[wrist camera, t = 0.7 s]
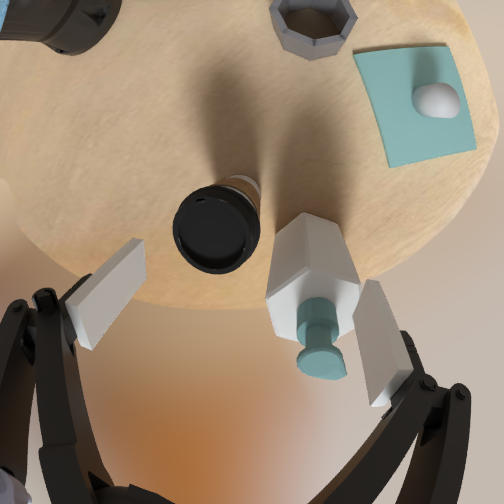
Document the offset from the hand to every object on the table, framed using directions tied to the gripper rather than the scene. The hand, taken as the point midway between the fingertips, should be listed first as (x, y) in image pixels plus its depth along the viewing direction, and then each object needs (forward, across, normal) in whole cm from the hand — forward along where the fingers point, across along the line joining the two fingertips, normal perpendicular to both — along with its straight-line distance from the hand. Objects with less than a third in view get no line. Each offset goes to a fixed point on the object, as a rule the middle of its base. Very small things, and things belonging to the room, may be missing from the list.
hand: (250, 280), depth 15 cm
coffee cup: (+24, -4, -2) cm, 24 cm away
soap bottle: (+24, +6, -8) cm, 26 cm away
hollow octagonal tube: (+24, +2, +22) cm, 33 cm away
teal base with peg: (+23, +18, +17) cm, 34 cm away
